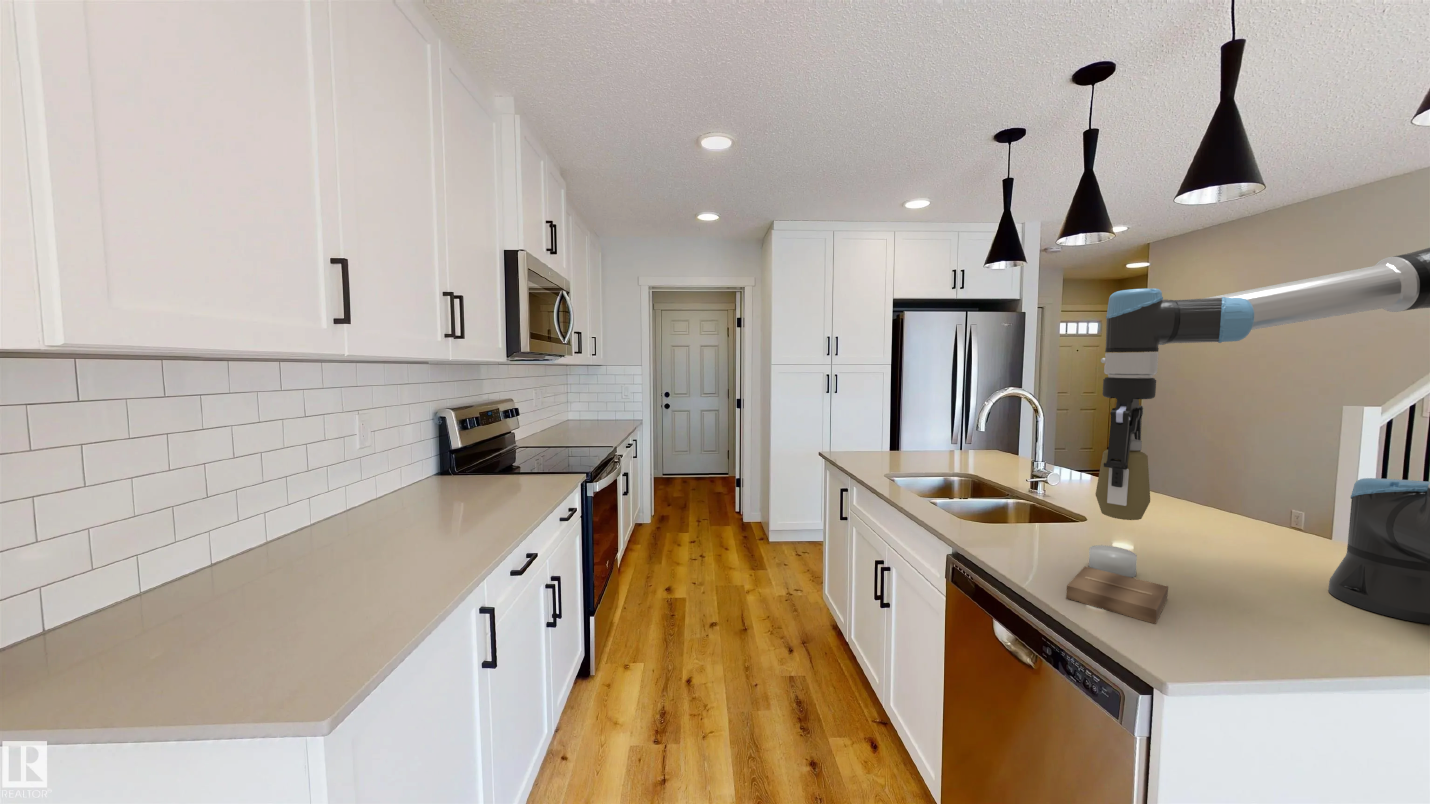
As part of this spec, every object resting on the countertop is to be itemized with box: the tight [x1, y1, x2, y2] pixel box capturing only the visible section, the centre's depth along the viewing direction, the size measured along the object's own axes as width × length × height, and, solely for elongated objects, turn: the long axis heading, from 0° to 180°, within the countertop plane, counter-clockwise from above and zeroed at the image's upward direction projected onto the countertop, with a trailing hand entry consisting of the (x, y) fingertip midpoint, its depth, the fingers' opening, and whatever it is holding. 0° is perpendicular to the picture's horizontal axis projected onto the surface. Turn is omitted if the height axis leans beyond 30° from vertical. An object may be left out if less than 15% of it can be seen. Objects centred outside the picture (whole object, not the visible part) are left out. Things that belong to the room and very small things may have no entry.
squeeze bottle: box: [1095, 433, 1151, 521], centre depth 95 cm, size 8×8×18 cm
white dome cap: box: [1088, 544, 1138, 578], centre depth 110 cm, size 8×8×4 cm
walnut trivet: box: [1065, 566, 1169, 625], centre depth 97 cm, size 13×13×3 cm
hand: (1121, 499), depth 96 cm, fingers closed on squeeze bottle, 8 cm apart
